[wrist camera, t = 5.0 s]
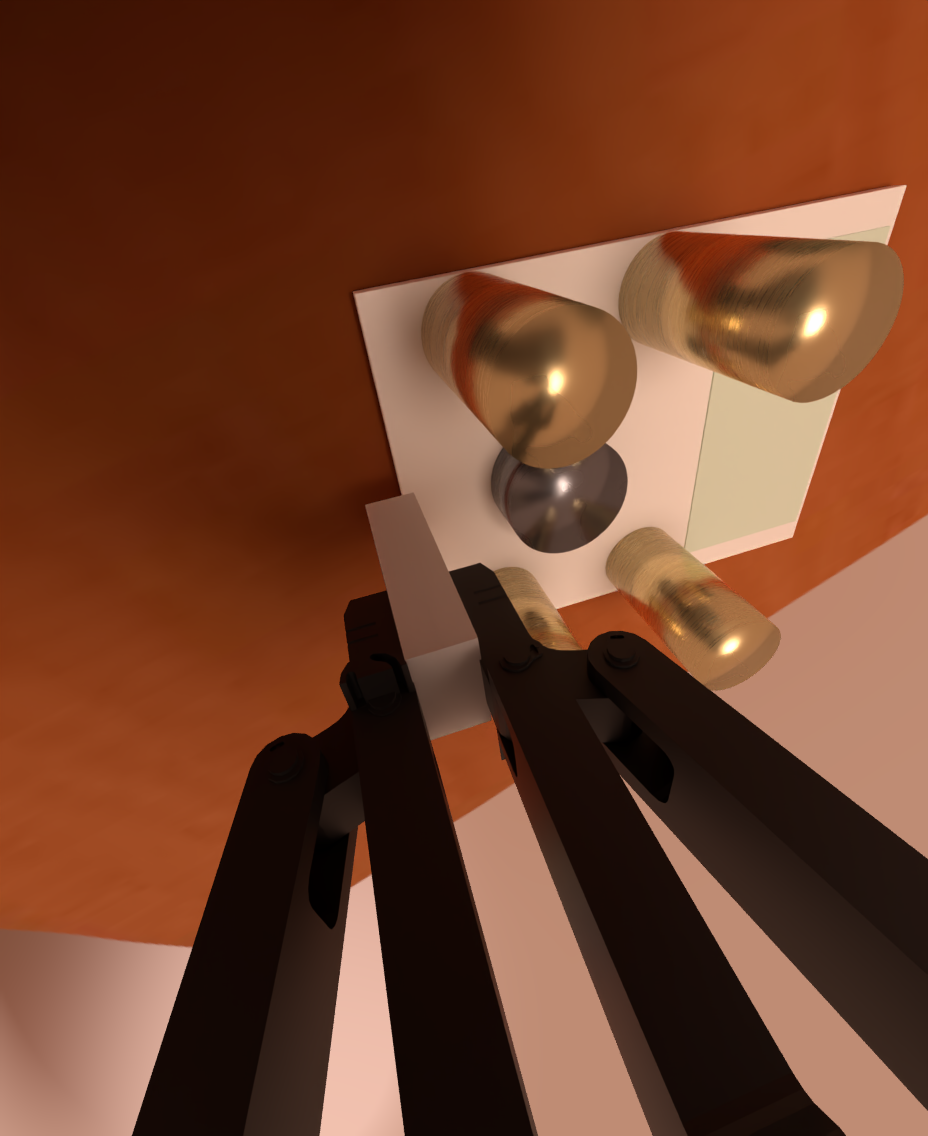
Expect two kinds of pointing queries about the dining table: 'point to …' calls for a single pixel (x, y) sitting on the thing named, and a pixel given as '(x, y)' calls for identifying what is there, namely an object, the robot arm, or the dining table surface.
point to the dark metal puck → (560, 499)
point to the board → (646, 435)
